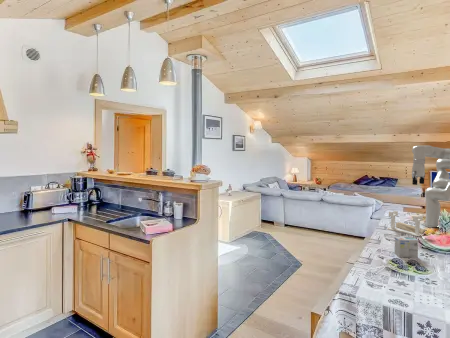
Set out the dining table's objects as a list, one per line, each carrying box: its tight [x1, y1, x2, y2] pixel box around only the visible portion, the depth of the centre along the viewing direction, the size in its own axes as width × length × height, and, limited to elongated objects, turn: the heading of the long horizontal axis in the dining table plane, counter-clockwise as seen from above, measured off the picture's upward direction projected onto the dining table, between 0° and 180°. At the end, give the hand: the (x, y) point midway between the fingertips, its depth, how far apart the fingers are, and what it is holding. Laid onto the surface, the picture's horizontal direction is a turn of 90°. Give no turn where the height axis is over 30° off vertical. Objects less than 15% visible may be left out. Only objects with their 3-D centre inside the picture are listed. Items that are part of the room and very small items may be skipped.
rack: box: [387, 210, 424, 237], centre depth 222 cm, size 7×23×14 cm, turn 30°
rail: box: [395, 221, 428, 234], centre depth 226 cm, size 4×24×4 cm, turn 14°
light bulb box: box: [394, 236, 419, 259], centre depth 175 cm, size 11×7×11 cm, turn 84°
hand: (418, 184), depth 224 cm, fingers open, 9 cm apart
